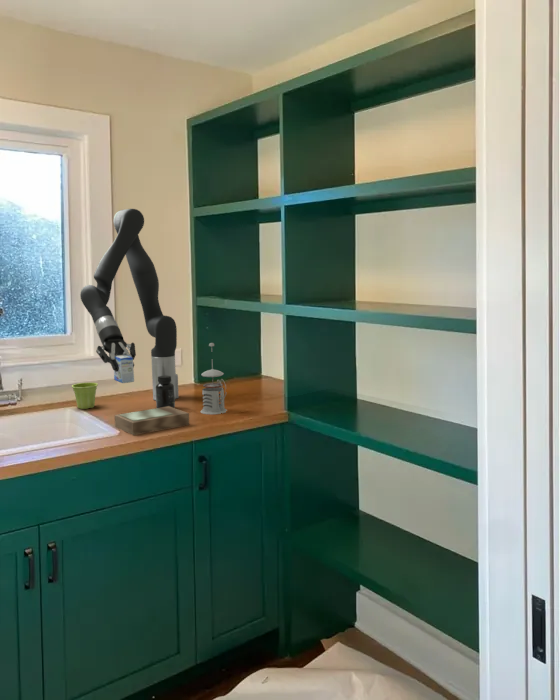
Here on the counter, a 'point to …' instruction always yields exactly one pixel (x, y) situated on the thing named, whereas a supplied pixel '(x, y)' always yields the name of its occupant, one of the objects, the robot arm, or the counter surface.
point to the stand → (151, 420)
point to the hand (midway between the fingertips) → (124, 369)
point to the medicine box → (124, 369)
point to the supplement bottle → (165, 392)
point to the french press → (213, 393)
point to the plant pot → (85, 394)
